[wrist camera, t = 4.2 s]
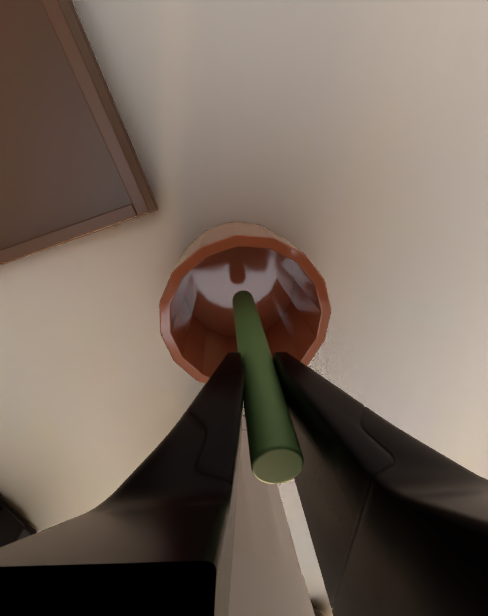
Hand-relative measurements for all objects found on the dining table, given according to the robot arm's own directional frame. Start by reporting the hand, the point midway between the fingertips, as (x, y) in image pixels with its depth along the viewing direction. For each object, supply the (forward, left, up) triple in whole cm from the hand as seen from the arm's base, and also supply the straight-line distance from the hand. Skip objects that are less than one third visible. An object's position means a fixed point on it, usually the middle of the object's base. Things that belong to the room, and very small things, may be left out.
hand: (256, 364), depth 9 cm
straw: (0, 0, -6) cm, 6 cm away
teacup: (0, 0, -8) cm, 8 cm away
